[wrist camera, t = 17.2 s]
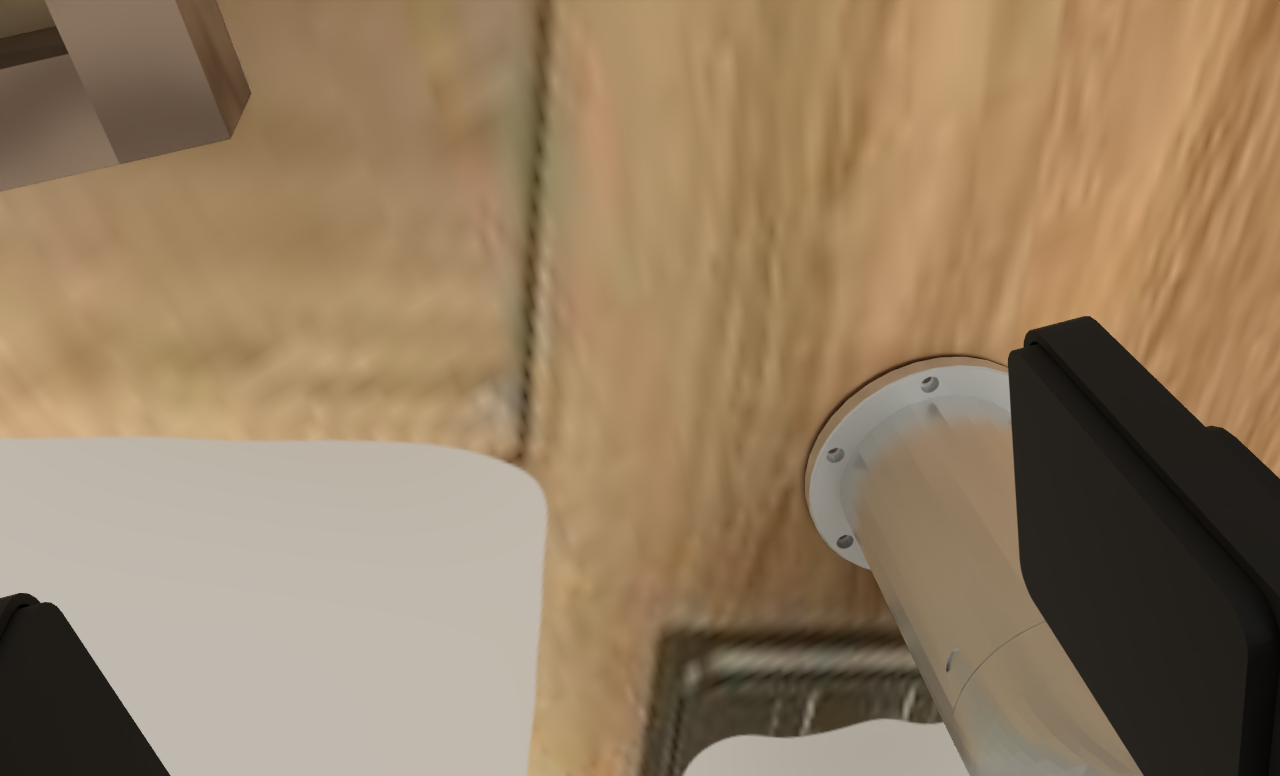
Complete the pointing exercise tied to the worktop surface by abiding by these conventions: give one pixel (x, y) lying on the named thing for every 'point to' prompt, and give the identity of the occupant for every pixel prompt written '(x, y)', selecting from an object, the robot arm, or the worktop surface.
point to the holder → (115, 87)
